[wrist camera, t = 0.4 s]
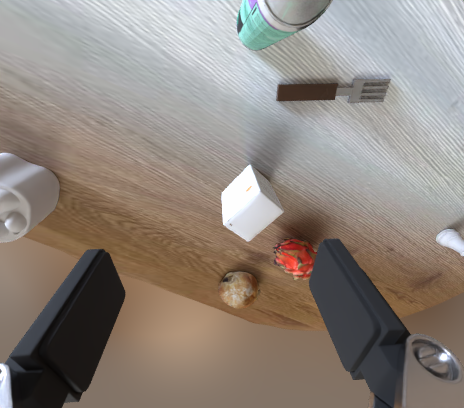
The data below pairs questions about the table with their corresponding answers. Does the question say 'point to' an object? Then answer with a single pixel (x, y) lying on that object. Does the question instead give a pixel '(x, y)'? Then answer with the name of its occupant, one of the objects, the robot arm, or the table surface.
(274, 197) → the small box
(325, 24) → the table surface
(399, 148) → the table surface
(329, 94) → the fork
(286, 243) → the dragon fruit
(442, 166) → the table surface
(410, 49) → the table surface
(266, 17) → the spray can
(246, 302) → the bread roll
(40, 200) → the lumpy-topped squat cylinder
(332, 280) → the robot arm
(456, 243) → the rook chess piece
